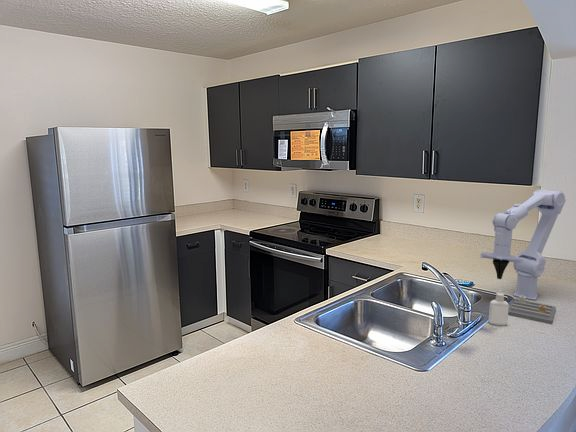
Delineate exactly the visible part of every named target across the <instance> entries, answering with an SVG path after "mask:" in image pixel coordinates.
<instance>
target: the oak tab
mask: <svg viewBox="0 0 576 432" xmlns="http://www.w3.org/2000/svg"><path fill="white" fill-rule="evenodd" d="M538 312H540V313H545V312H546V306H544V305H539V310H538Z"/></svg>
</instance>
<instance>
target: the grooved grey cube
mask: <svg viewBox="0 0 576 432" xmlns="http://www.w3.org/2000/svg"><path fill="white" fill-rule="evenodd" d="M518 299H519V302H522V303H526V301H527V298H526V296H524V295H522V296H521V295H520V297H518Z"/></svg>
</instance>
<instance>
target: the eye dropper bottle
mask: <svg viewBox="0 0 576 432" xmlns="http://www.w3.org/2000/svg"><path fill="white" fill-rule="evenodd" d="M502 290H503V289H499V290H498V292H496V293H495V299H492V300H491V301H490V302H489V309H488V323H489V324H490V325H493V326H494V325H495V326H507V325H508V317H509V315H508V308H509V306H510V304H509V303H508V302H507V301H506V300H505V294H504V293H503V291H502Z"/></svg>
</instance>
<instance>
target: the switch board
mask: <svg viewBox="0 0 576 432" xmlns="http://www.w3.org/2000/svg"><path fill="white" fill-rule="evenodd" d="M539 305H544V306H546V312H545V313H540V312H538V310H539ZM556 308H557V306H556V305H555V306H554V305H551V304H545V303H543V302H536V301H530V300H526V303H522V302H519V298H513V299H512V300H511V302H510V304H509V308H508V316H512V317H517V318H521V319H526V320H529V321H530V320H531V321H535V322H539V323H540V322H541V323H545V324H550V325H553V322H554V317H555V313H556Z"/></svg>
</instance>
